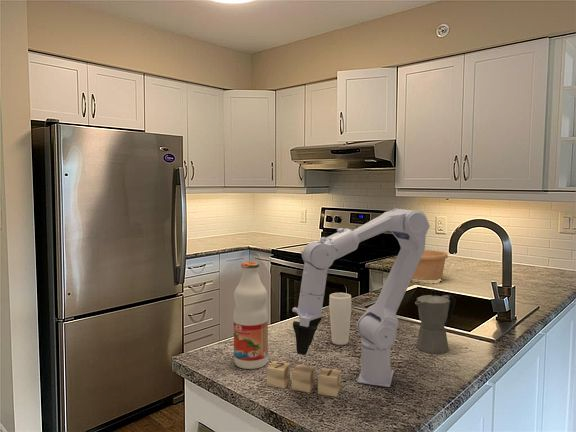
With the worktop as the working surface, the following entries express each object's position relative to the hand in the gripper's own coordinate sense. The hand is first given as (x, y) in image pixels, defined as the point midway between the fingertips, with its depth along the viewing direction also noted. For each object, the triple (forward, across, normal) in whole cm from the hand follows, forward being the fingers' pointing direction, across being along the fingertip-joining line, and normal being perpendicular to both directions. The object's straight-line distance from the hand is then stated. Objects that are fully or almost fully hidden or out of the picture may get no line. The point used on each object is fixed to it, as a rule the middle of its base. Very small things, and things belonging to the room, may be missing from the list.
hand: (303, 349), depth 103 cm
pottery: (-5, -129, +43) cm, 136 cm away
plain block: (+10, -3, +1) cm, 10 cm away
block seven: (+11, -4, -5) cm, 13 cm away
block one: (+9, -2, +7) cm, 12 cm away
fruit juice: (+12, -14, -15) cm, 24 cm away
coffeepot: (+3, -35, +36) cm, 50 cm away
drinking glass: (+7, -34, +7) cm, 35 cm away
